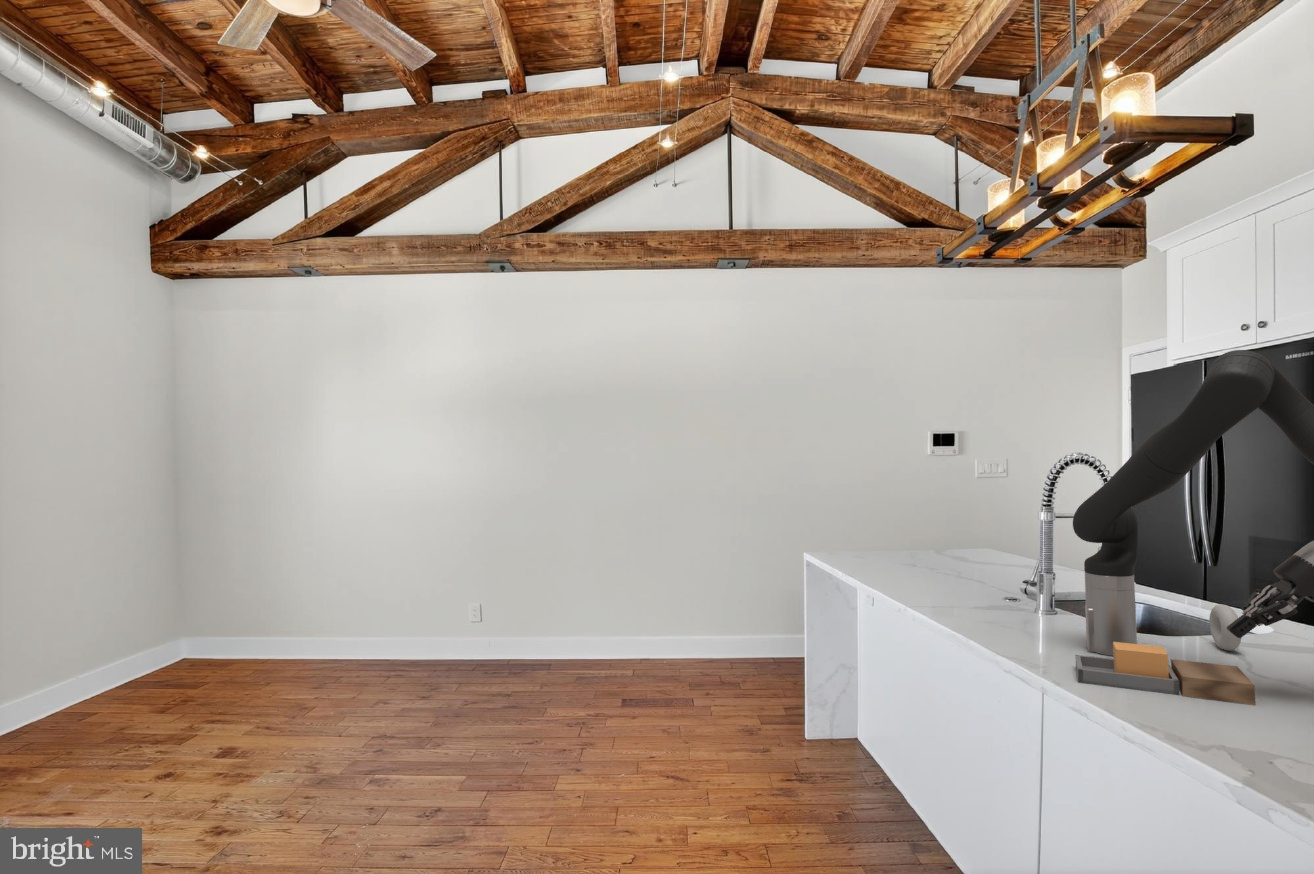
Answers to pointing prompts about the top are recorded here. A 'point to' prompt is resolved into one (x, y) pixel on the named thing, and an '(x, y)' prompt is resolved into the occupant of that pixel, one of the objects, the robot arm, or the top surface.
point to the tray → (1122, 676)
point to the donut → (1223, 627)
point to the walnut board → (1213, 682)
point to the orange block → (1140, 660)
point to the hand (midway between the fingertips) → (1232, 633)
